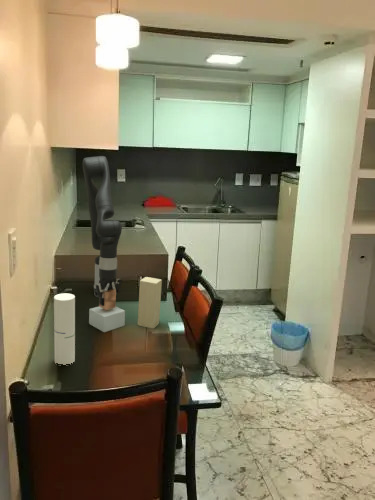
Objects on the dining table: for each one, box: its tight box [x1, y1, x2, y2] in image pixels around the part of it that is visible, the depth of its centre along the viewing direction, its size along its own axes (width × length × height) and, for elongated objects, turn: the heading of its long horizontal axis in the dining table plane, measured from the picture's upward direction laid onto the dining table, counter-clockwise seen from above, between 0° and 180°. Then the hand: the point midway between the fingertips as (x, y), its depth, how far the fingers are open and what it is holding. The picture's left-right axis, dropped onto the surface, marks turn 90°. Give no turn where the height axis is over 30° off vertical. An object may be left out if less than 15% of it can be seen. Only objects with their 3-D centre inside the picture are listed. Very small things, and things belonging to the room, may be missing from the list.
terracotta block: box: [98, 289, 117, 310], centre depth 193 cm, size 5×5×8 cm
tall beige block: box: [137, 276, 163, 329], centre depth 197 cm, size 8×7×21 cm
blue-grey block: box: [88, 305, 126, 333], centre depth 195 cm, size 11×11×7 cm
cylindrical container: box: [53, 292, 76, 366], centre depth 160 cm, size 7×7×25 cm
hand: (107, 303), depth 194 cm, fingers closed on terracotta block, 5 cm apart
